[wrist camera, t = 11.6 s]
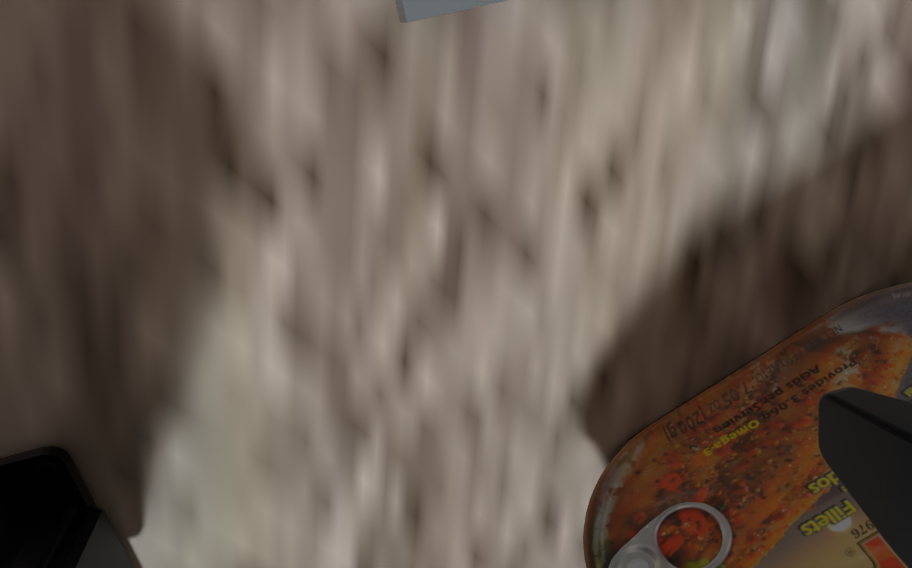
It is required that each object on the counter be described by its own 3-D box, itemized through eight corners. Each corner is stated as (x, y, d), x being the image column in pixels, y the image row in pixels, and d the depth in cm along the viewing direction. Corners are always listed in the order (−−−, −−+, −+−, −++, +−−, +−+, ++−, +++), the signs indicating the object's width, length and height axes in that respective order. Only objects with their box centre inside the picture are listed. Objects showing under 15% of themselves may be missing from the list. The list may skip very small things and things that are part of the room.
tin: (939, 241, 22) (1267, 362, 14) (961, 314, 23) (1274, 461, 16) (543, 486, 23) (654, 725, 15) (585, 543, 24) (706, 792, 16)
